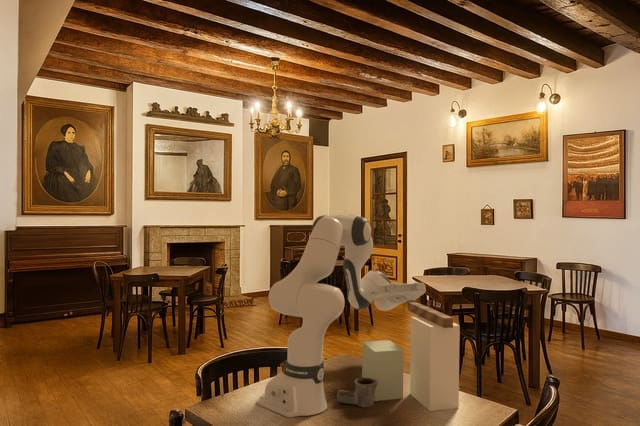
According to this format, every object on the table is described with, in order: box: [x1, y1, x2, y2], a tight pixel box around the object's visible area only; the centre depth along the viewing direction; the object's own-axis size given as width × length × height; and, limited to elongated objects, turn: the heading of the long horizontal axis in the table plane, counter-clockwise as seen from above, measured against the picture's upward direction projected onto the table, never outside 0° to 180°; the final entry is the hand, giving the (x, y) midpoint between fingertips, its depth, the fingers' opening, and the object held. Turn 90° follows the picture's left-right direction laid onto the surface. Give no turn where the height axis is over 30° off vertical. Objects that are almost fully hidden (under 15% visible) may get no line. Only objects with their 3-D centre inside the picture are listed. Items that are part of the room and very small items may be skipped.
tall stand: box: [409, 316, 461, 412], centre depth 150 cm, size 14×10×26 cm
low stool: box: [361, 339, 404, 402], centre depth 157 cm, size 12×10×16 cm
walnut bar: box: [407, 301, 454, 328], centre depth 154 cm, size 26×3×3 cm, turn 14°
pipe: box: [336, 376, 378, 408], centre depth 146 cm, size 6×13×8 cm, turn 82°
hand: (406, 284), depth 173 cm, fingers open, 8 cm apart
